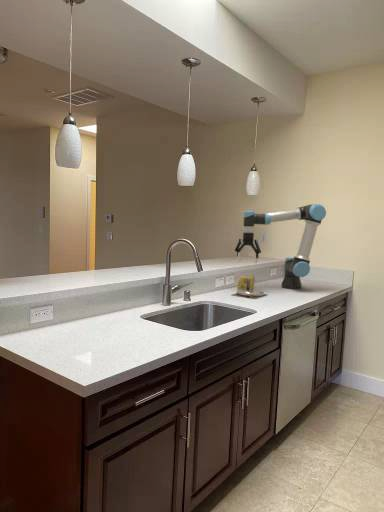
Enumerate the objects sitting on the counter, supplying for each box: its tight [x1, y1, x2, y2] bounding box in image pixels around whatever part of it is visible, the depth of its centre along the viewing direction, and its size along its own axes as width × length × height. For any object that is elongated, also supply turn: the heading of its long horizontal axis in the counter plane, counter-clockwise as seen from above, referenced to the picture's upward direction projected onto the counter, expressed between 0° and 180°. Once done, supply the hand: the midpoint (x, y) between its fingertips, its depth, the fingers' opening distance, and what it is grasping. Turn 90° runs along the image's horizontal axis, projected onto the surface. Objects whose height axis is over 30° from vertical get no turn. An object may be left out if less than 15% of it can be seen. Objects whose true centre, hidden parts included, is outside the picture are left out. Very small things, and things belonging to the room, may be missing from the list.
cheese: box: [236, 275, 256, 291], centre depth 282 cm, size 10×11×10 cm
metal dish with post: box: [236, 279, 265, 297], centre depth 263 cm, size 18×18×9 cm
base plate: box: [231, 292, 269, 300], centre depth 264 cm, size 19×18×1 cm
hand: (247, 261), depth 281 cm, fingers open, 13 cm apart
